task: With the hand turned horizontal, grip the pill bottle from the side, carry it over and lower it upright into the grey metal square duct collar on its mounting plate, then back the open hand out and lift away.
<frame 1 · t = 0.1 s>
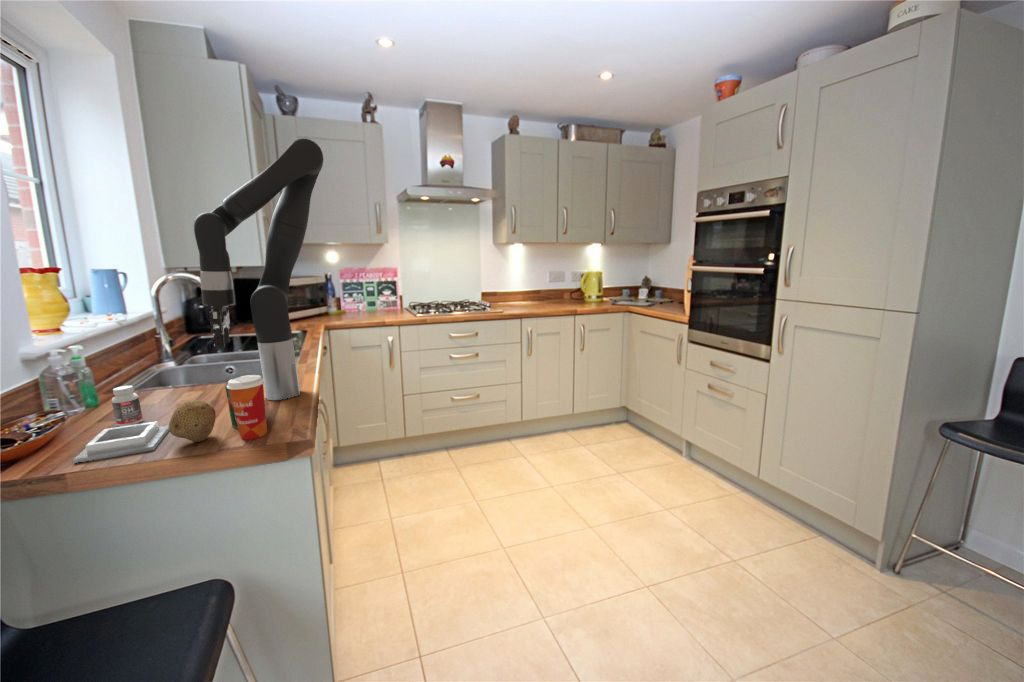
hand: (222, 345, 130), 17 cm above the countertop, tool pointing down, fingers open, 8 cm apart
canned tomato: (249, 423, 119), on the countertop
pill bottle: (130, 423, 121), on the countertop
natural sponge: (197, 442, 108), on the countertop
duct collar: (126, 444, 107), on the countertop
paper cup: (254, 435, 110), on the countertop
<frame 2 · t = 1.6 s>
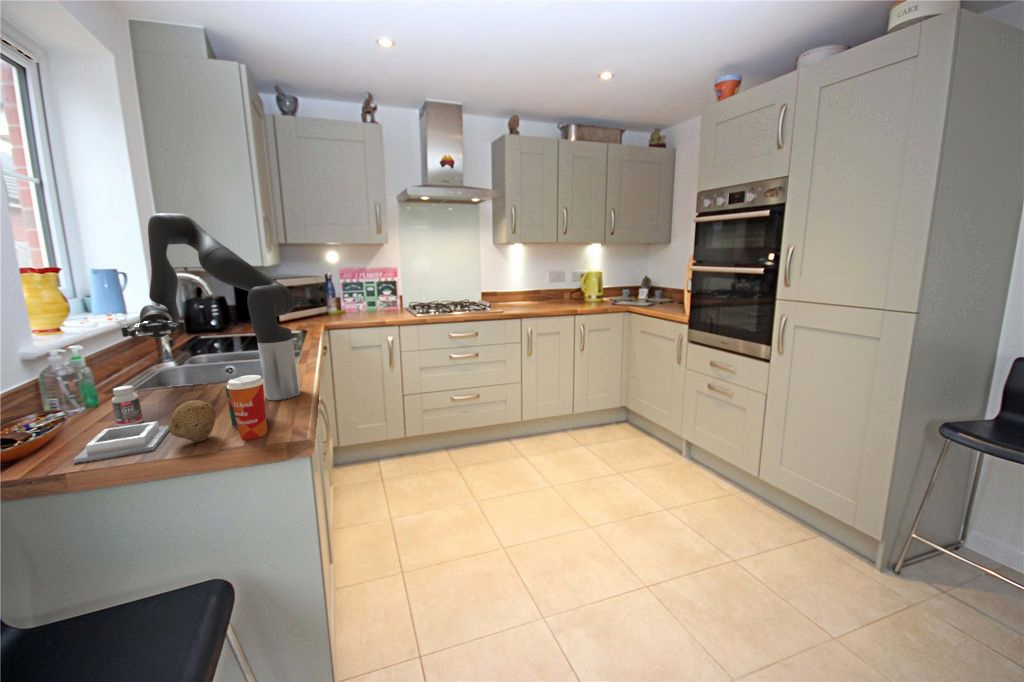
hand: (153, 331, 127), 22 cm above the countertop, tool horizontal, fingers open, 8 cm apart
nothing on the countertop moved.
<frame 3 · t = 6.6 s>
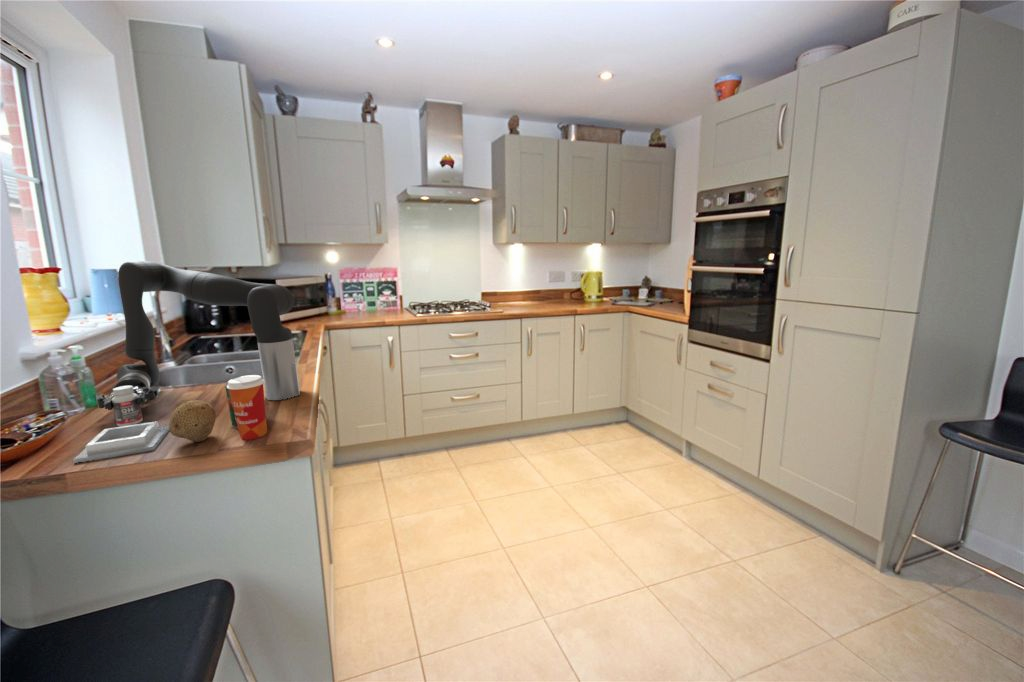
hand: (124, 403, 118), 6 cm above the countertop, tool horizontal, fingers closed on pill bottle, 5 cm apart
pill bottle: (130, 423, 121), on the countertop, touching gripper
everything else where it was.
when the fingers open (8 cm above the countertop, at t = 12.5 s): pill bottle drops 1 cm, resting on duct collar.
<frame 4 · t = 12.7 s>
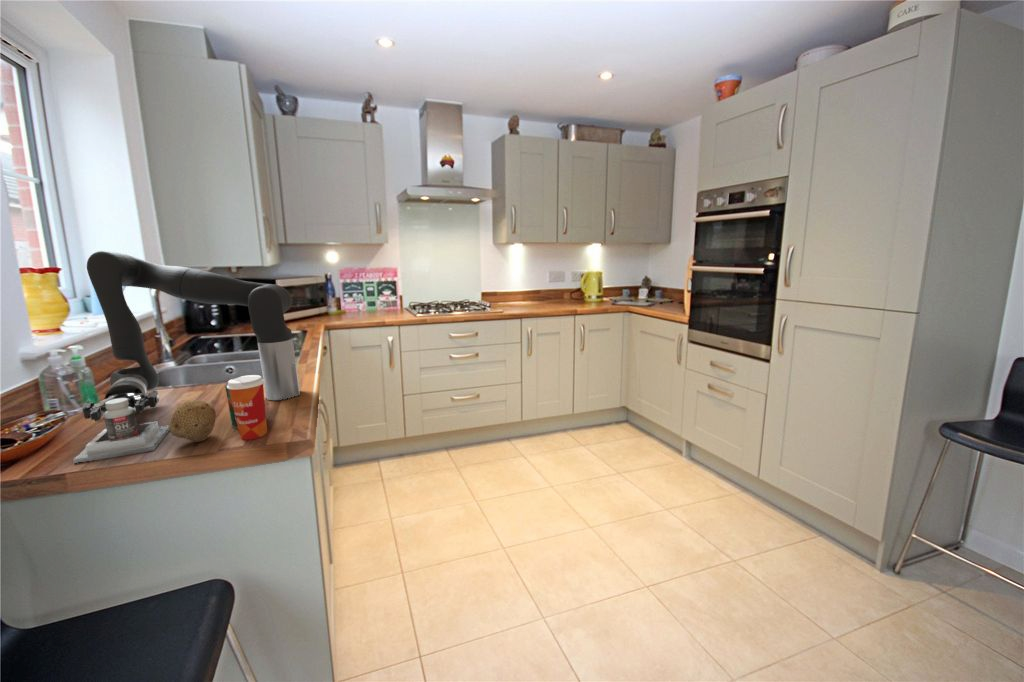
hand: (117, 413, 104), 8 cm above the countertop, tool horizontal, fingers open, 6 cm apart
pill bottle: (125, 441, 107), point 1 cm above the countertop, touching duct collar
everything else where it was.
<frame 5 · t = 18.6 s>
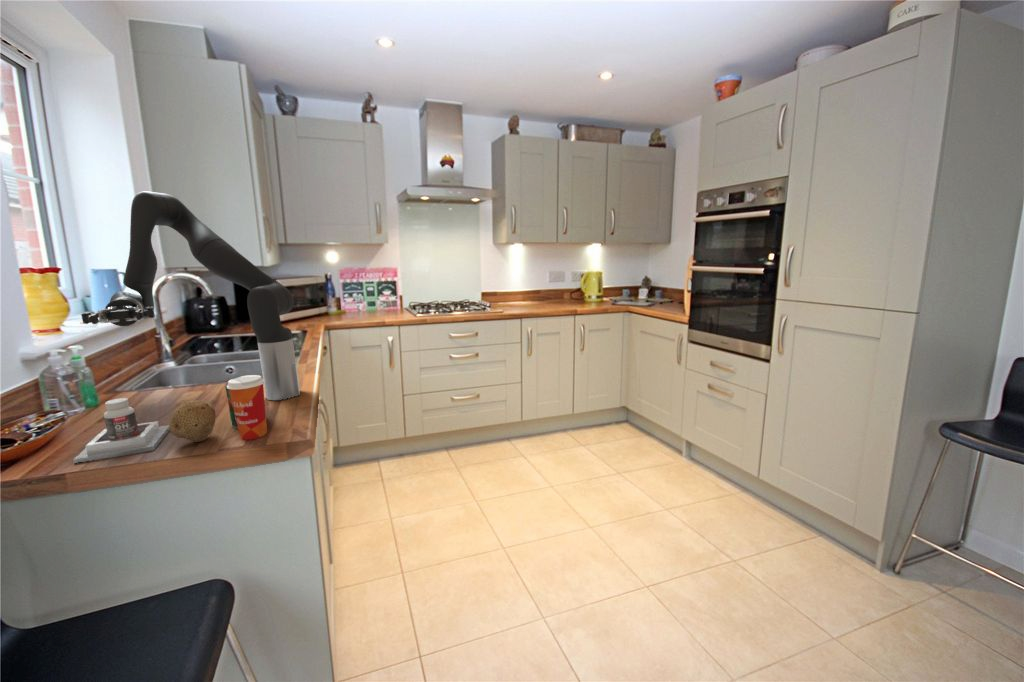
hand: (116, 317, 114), 28 cm above the countertop, tool horizontal, fingers open, 8 cm apart
nothing on the countertop moved.
at the end: pill bottle 0.1 cm off-centre on the duct collar, point 0.8 cm above the duct collar's base; pill bottle tilted 0°; the gripper is holding nothing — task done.
